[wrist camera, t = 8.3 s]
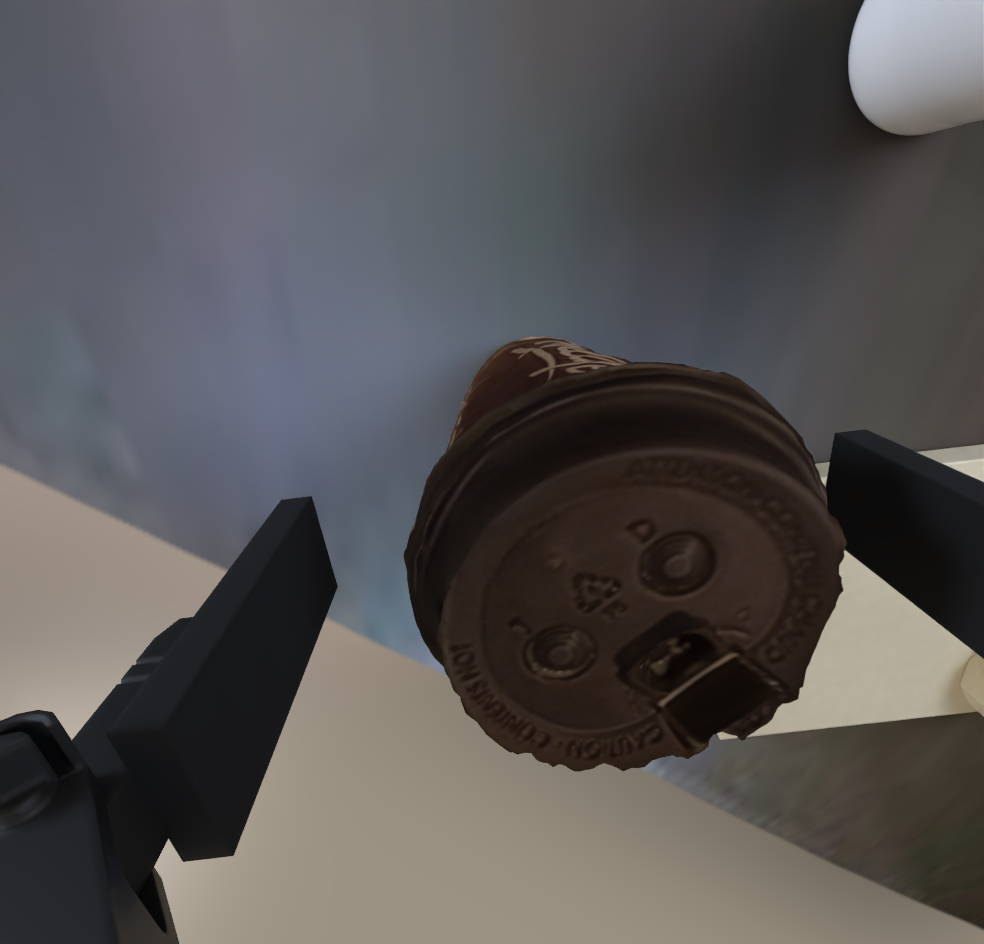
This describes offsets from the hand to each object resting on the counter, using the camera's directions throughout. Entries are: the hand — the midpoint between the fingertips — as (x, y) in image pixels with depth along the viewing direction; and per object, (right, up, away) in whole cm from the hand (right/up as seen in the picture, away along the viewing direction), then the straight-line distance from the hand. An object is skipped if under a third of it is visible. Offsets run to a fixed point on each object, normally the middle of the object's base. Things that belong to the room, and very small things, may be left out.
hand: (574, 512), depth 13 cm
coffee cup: (0, +3, +8) cm, 9 cm away
